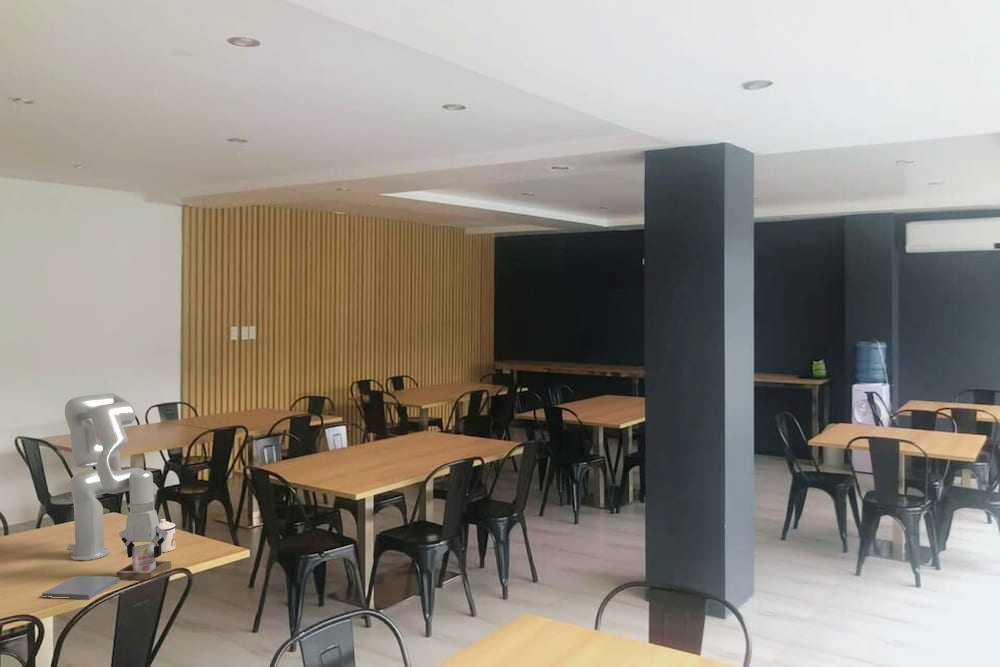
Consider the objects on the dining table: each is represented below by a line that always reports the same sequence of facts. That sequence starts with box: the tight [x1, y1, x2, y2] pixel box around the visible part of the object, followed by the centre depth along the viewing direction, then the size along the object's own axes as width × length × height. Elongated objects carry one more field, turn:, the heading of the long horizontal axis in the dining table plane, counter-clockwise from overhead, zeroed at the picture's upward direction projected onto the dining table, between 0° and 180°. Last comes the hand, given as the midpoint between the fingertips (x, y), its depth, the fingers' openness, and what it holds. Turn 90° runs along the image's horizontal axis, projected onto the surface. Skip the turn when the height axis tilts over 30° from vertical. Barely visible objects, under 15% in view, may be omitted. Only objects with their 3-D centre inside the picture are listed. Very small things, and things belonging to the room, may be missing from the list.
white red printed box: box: [131, 543, 157, 572], centre depth 271 cm, size 4×7×10 cm, turn 123°
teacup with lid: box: [150, 518, 177, 554], centre depth 299 cm, size 12×9×12 cm
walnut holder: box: [115, 560, 172, 581], centre depth 271 cm, size 12×12×2 cm
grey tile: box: [41, 575, 121, 600], centre depth 257 cm, size 16×16×2 cm
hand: (144, 556), depth 270 cm, fingers open, 9 cm apart
